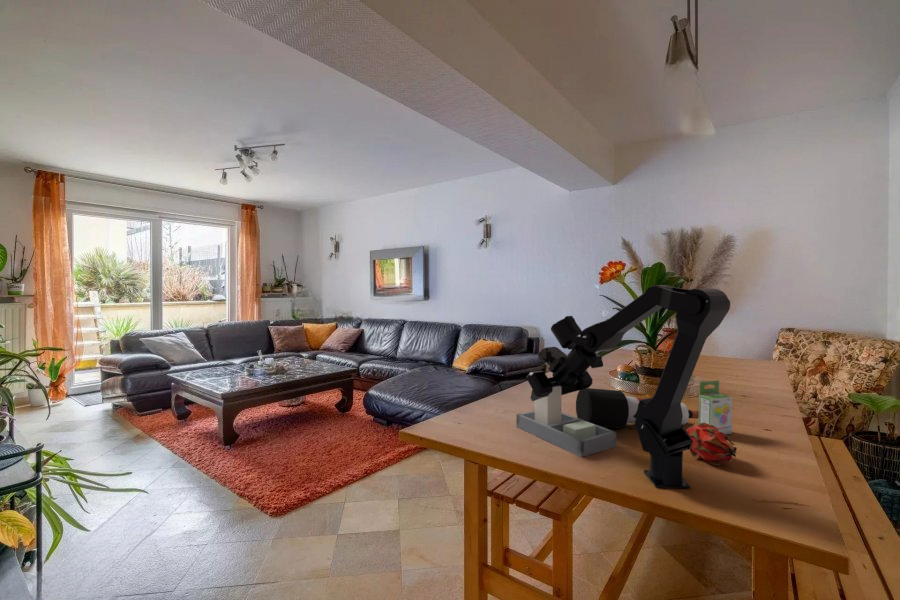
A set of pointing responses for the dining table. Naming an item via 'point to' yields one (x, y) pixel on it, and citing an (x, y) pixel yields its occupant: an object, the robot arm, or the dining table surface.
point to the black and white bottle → (613, 408)
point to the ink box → (715, 407)
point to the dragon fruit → (710, 443)
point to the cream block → (549, 408)
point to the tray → (569, 433)
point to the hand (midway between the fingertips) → (544, 397)
